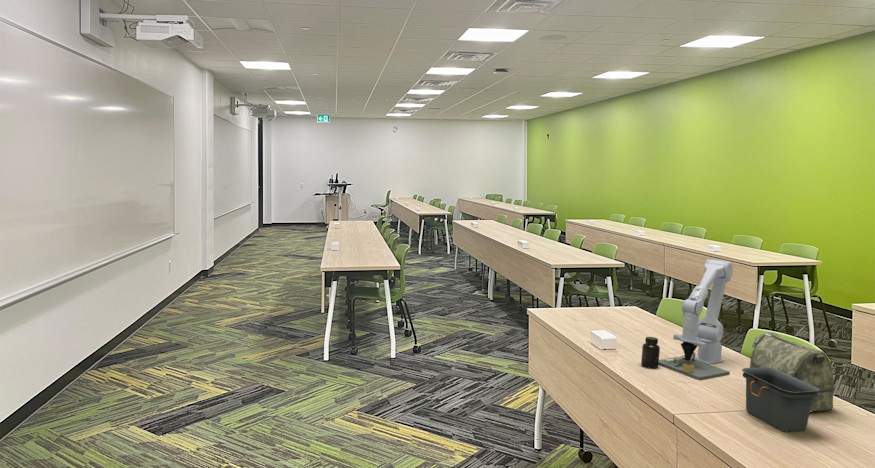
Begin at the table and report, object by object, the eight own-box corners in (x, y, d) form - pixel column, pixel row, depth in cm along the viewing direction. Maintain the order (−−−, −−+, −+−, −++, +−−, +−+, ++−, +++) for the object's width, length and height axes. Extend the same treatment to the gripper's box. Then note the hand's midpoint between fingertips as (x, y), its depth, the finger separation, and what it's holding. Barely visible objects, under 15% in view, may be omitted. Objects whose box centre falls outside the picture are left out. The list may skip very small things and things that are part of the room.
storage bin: (821, 434, 176) (825, 389, 174) (778, 437, 172) (783, 391, 171) (767, 407, 196) (770, 366, 195) (728, 409, 193) (732, 368, 191)
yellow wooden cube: (687, 369, 229) (688, 362, 229) (693, 372, 227) (694, 364, 226) (682, 370, 228) (683, 363, 228) (688, 373, 225) (689, 365, 225)
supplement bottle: (659, 369, 232) (661, 341, 231) (642, 368, 234) (644, 339, 233) (656, 364, 239) (658, 336, 238) (639, 362, 240) (641, 335, 239)
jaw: (688, 357, 242) (689, 353, 242) (693, 358, 241) (693, 354, 240) (673, 362, 234) (673, 358, 234) (677, 363, 232) (678, 359, 232)
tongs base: (683, 358, 249) (684, 348, 248) (729, 374, 229) (730, 363, 229) (654, 363, 240) (655, 352, 240) (699, 380, 221) (700, 368, 221)
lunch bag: (738, 387, 215) (743, 330, 213) (781, 385, 218) (786, 330, 216) (792, 415, 190) (798, 351, 188) (839, 413, 193) (846, 350, 191)
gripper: (669, 325, 239) (666, 356, 241) (699, 333, 227) (696, 366, 228) (680, 323, 243) (678, 354, 244) (710, 332, 230) (708, 364, 231)
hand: (687, 360), depth 236 cm, fingers closed
